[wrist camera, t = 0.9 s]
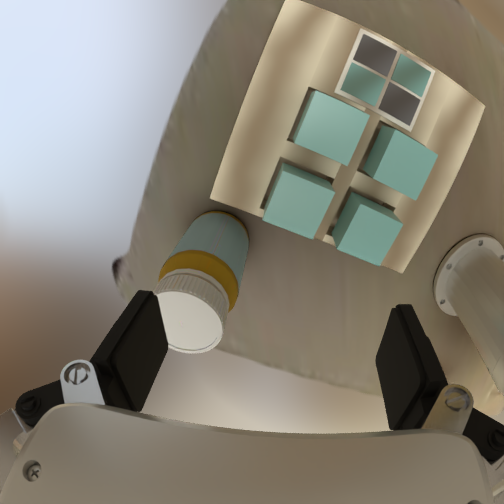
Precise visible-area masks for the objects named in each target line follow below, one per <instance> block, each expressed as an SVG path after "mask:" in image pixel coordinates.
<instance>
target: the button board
mask: <svg viewBox="0 0 504 504" xmlns="http://www.w3.org/2000/svg"><path fill="white" fill-rule="evenodd" d="M316 90H317V91H319V92H321V93H324V94H326V95H328V96H331V97H333V98H335V99H337V100H339V101H342V102H344V103H346V104H348V105H350V106H352V107H354V108H356V109H358V110H360V111H362V112H364V113H366V114H368V115H370V117H369V119H368V121H367V124H366V126H365V128H364V130H363V133H362V135H361V137H360V140H359V142H358V144H357V146H356V149H355V151H354V153H353V155H352V157H351V160H350V162H349V164H348V166H346V165H344V164H342V163H339V162H337V161H335V160H333V159H330V158H328V157H326V156H324V155H321V154H319V153H317V152H314V151H312V150H310V149H307V148H305V147H302V146H300V145H297V144H295V143H294V141H293V136H294V134H295V131H296V129H297V127H298V124H299V122H300V119H301V117H302V114H303V112H304V110H305V107H306V105H307V102H308V100H309V97H310V95H311V93H312V92H313V91H316ZM484 108H485V106H484V105H483V104H482V103H481V102H480V101H478V100H477V99H476V98H475V97H474V96H472V95H471V94H470V93H469V92H467V91H466V90H465V89H464V88H462V87H461V86H460V85H458V84H457V83H456V82H454V81H453V80H452V79H450V78H449V77H447V76H446V75H445V74H443V73H442V72H440V71H439V70H438V69H436V68H435V67H433V66H432V65H430V64H429V63H427V62H426V61H424V60H422V59H421V58H419V57H418V56H416V55H414V54H413V53H411V52H410V51H408V50H406V49H404V48H403V47H401V46H399V45H398V44H396V43H394V42H392V41H390V40H389V39H387V38H385V37H383V36H381V35H379V34H377V33H375V32H373V31H371V30H369V29H367V28H365V27H363V26H361V25H359V24H357V23H355V22H353V21H350V20H348V19H346V18H344V17H341V16H339V15H337V14H334V13H332V12H329V11H327V10H324V9H322V8H319V7H316V6H314V5H311V4H308V3H305V2H303V1H300V0H285V2H284V4H283V7H282V9H281V11H280V13H279V16H278V18H277V20H276V22H275V25H274V27H273V29H272V32H271V34H270V36H269V39H268V41H267V44H266V46H265V48H264V51H263V53H262V56H261V58H260V61H259V63H258V66H257V68H256V71H255V73H254V76H253V78H252V81H251V83H250V86H249V89H248V91H247V94H246V96H245V99H244V102H243V104H242V107H241V110H240V112H239V115H238V118H237V120H236V123H235V126H234V129H233V131H232V134H231V137H230V140H229V143H228V146H227V148H226V151H225V154H224V157H223V160H222V163H221V166H220V169H219V172H218V175H217V178H216V181H215V184H214V187H213V190H212V193H211V196H210V199H213V200H216V201H218V202H221V203H224V204H227V205H229V206H232V207H235V208H238V209H240V210H243V211H246V212H248V213H251V214H254V215H257V216H259V217H262V218H263V214H264V208H265V205H266V202H267V200H268V197H269V195H270V192H271V190H272V188H273V185H274V183H275V180H276V178H277V175H278V173H279V170H280V168H281V166H282V163H286V164H288V165H291V166H293V167H296V168H298V169H301V170H303V171H306V172H308V173H310V174H313V175H315V176H317V177H320V178H322V179H325V180H327V181H329V182H330V184H331V186H332V187H333V189H334V191H335V194H334V196H333V198H332V200H331V203H330V205H329V207H328V209H327V211H326V213H325V215H324V217H323V219H322V221H321V223H320V225H319V227H318V229H317V231H316V233H315V235H314V238H316V239H319V240H322V241H324V242H327V243H329V244H332V245H334V246H336V245H335V242H334V239H333V236H332V231H333V229H334V227H335V225H336V223H337V221H338V219H339V217H340V215H341V213H342V211H343V209H344V207H345V205H346V203H347V201H348V199H349V197H350V195H351V192H354V193H356V194H358V195H360V196H362V197H365V198H367V199H369V200H371V201H373V202H375V203H377V204H379V205H381V206H383V207H385V208H387V209H389V210H391V211H392V212H393V213H394V214H395V215H396V216H397V217H398V219H399V220H400V221H401V222H402V223H403V226H402V228H401V230H400V232H399V233H398V235H397V237H396V239H395V240H394V242H393V244H392V246H391V247H390V249H389V251H388V252H387V254H386V256H385V257H384V259H383V261H382V262H381V265H383V266H385V267H388V268H390V269H392V270H395V271H397V272H399V273H403V271H404V270H405V268H406V266H407V265H408V263H409V262H410V260H411V258H412V257H413V255H414V253H415V252H416V250H417V248H418V247H419V245H420V243H421V242H422V240H423V238H424V237H425V235H426V233H427V231H428V230H429V228H430V226H431V224H432V222H433V221H434V219H435V217H436V215H437V213H438V211H439V209H440V207H441V206H442V204H443V202H444V200H445V198H446V196H447V194H448V192H449V190H450V188H451V186H452V184H453V182H454V180H455V178H456V175H457V173H458V171H459V169H460V167H461V165H462V162H463V160H464V158H465V156H466V153H467V151H468V149H469V146H470V144H471V142H472V139H473V137H474V134H475V132H476V129H477V127H478V124H479V122H480V119H481V116H482V114H483V111H484ZM382 125H383V126H386V127H390V128H393V129H396V130H398V131H400V132H401V133H403V134H405V135H407V136H408V137H410V138H412V139H413V140H415V141H417V142H418V143H420V144H422V145H423V146H425V147H426V148H428V149H430V150H431V151H433V152H434V153H436V154H437V155H438V157H437V159H436V161H435V163H434V165H433V168H432V170H431V172H430V174H429V176H428V178H427V180H426V182H425V184H424V186H423V188H422V190H421V192H420V194H419V196H418V198H417V200H416V201H415V200H413V199H411V198H410V197H408V196H406V195H404V194H402V193H400V192H399V191H397V190H395V189H393V188H391V187H389V186H387V185H385V184H383V183H381V182H379V181H377V180H375V179H373V178H372V177H371V176H370V175H369V174H368V173H366V172H365V171H364V170H363V167H364V165H365V163H366V161H367V159H368V156H369V154H370V152H371V150H372V148H373V145H374V143H375V141H376V139H377V136H378V134H379V132H380V130H381V127H382Z"/></svg>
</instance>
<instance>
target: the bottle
mask: <svg viewBox="0 0 504 504" xmlns="http://www.w3.org/2000/svg"><path fill="white" fill-rule="evenodd" d="M248 248H249V236H248V233H247V230H246V228H245V227H244V225H243V224H242V223H241V222H240V221H239V220H238V219H237V218H236V217H234V216H233V215H231V214H228V213H225V212H221V211H211V212H207V213H204V214H202V215H200V216H199V217H197V218H196V219H195V220H194V221H193V223H192V224H191V225H190V227H189V228H188V230H187V231H186V233H185V234H184V236H183V237H182V238H181V240H180V241H179V243H178V244H177V246H176V247H175V249H174V250H173V252H172V253H171V255H170V256H169V258H168V259H167V261H166V262H165V264H164V265H163V267H162V269H161V271H160V275H159V282H158V285H157V286H156V288H155V289H154V291H153V293H154V295H156V296H157V297H158V301H159V305H160V310H161V314H162V319H163V323H164V328H165V332H166V336H167V340H168V347H169V348H171V349H174V350H177V351H179V352H184V353H202V352H206V351H208V350H211V349H212V348H214V347H215V346H216V345H217V344H218V343H219V342H220V340H221V338H222V336H223V333H224V329H225V325H226V321H227V315H228V313H229V312H230V311H231V310H232V308H233V307H234V305H235V302H236V300H237V297H238V293H239V288H240V284H241V280H242V275H243V271H244V266H245V262H246V257H247V253H248Z"/></svg>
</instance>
